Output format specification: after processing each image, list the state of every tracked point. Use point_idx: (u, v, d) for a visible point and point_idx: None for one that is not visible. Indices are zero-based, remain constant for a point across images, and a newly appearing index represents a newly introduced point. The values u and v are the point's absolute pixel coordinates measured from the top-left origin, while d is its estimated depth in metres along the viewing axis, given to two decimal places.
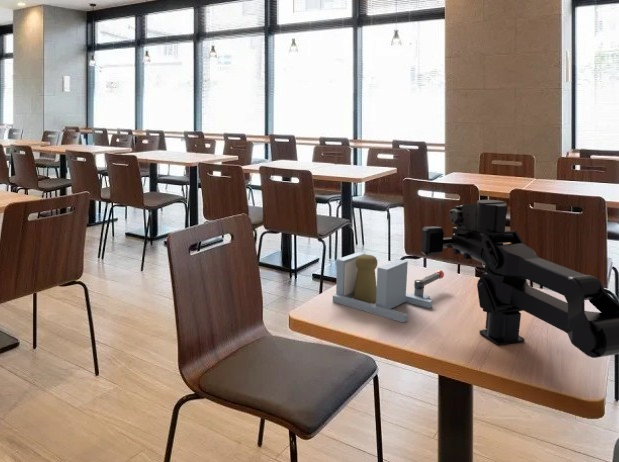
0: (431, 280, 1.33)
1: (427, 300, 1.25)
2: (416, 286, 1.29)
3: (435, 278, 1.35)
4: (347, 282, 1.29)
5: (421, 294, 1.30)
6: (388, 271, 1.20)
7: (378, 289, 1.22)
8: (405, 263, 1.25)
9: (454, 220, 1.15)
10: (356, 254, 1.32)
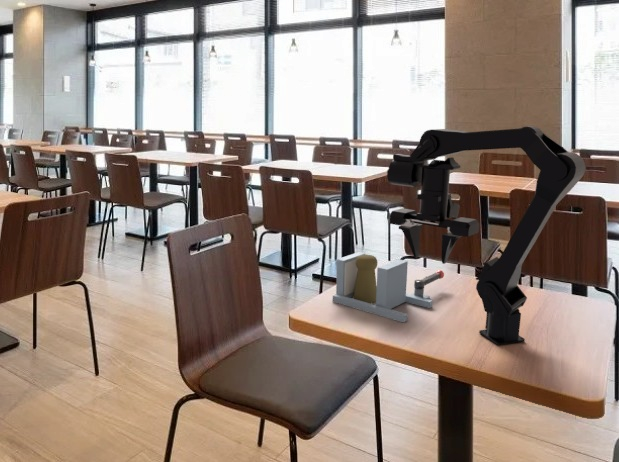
0: (431, 280, 1.33)
1: (427, 300, 1.25)
2: (416, 286, 1.29)
3: (435, 278, 1.35)
4: (347, 282, 1.29)
5: (421, 294, 1.30)
6: (388, 271, 1.20)
7: (378, 289, 1.22)
8: (405, 263, 1.25)
9: None
10: (356, 254, 1.32)
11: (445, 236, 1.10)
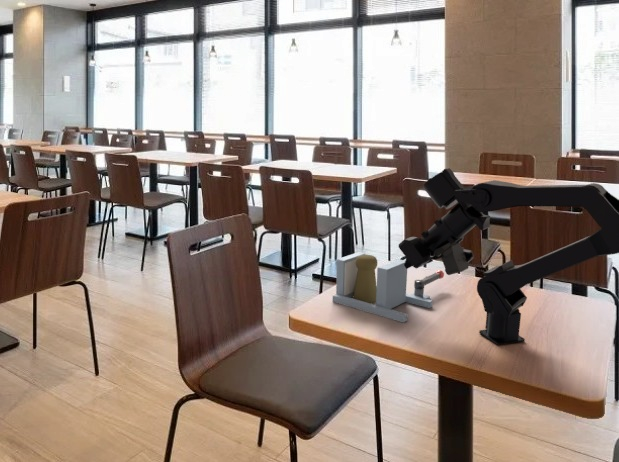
0: (431, 280, 1.33)
1: (427, 300, 1.25)
2: (416, 286, 1.29)
3: (435, 278, 1.35)
4: (347, 282, 1.29)
5: (421, 294, 1.30)
6: (388, 271, 1.20)
7: (378, 289, 1.22)
8: None
9: None
10: (356, 254, 1.32)
11: None
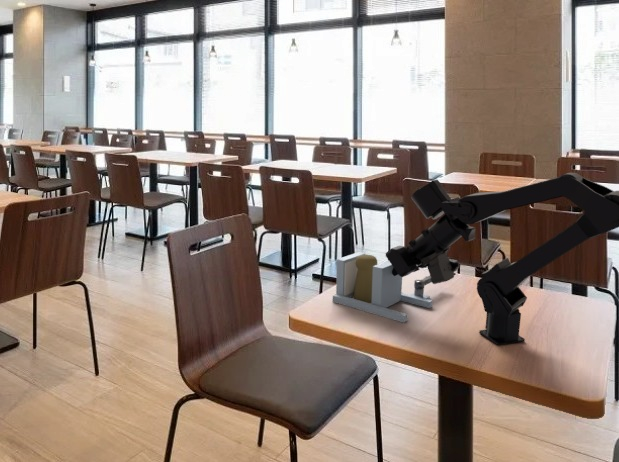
0: None
1: (427, 300, 1.25)
2: (416, 286, 1.29)
3: None
4: (347, 282, 1.29)
5: (421, 294, 1.30)
6: (383, 270, 1.21)
7: (373, 288, 1.22)
8: None
9: None
10: (356, 254, 1.32)
11: None
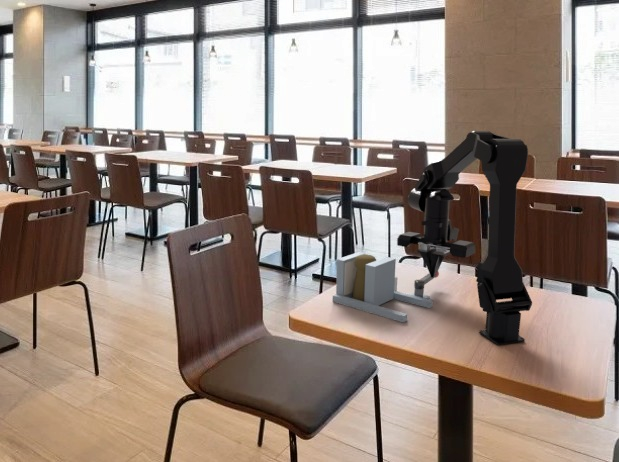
0: (429, 279, 1.34)
1: (427, 300, 1.25)
2: (417, 286, 1.29)
3: None
4: (347, 282, 1.29)
5: (421, 294, 1.30)
6: (376, 268, 1.22)
7: (366, 286, 1.24)
8: (393, 260, 1.27)
9: None
10: (356, 254, 1.32)
11: (434, 255, 1.30)
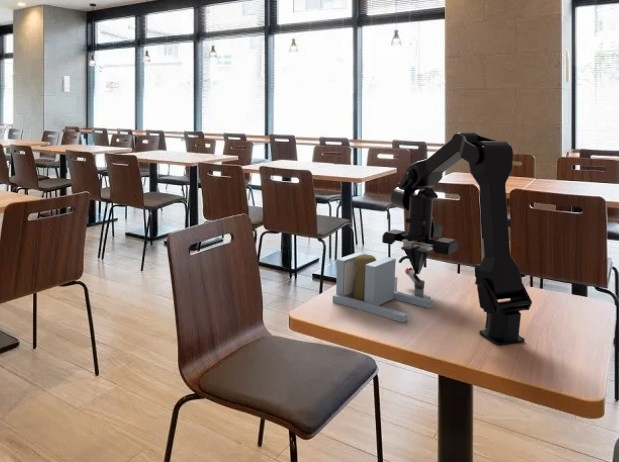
0: None
1: (427, 300, 1.25)
2: (420, 287, 1.29)
3: None
4: (347, 282, 1.29)
5: (421, 294, 1.30)
6: (376, 268, 1.22)
7: (366, 286, 1.24)
8: (393, 260, 1.27)
9: None
10: (356, 254, 1.32)
11: (417, 252, 1.33)
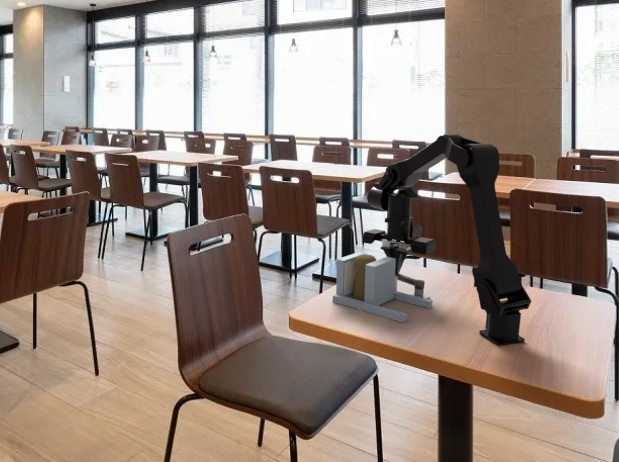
0: None
1: (427, 300, 1.25)
2: (422, 286, 1.29)
3: None
4: (347, 282, 1.29)
5: (421, 294, 1.30)
6: (376, 268, 1.22)
7: (366, 286, 1.24)
8: (393, 260, 1.27)
9: None
10: (356, 254, 1.32)
11: (396, 251, 1.33)
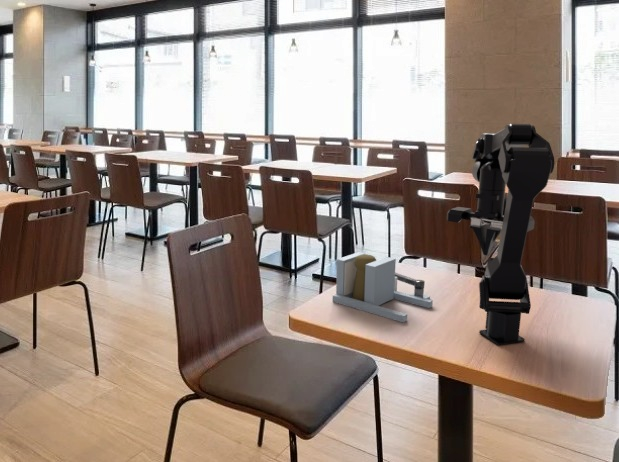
0: None
1: (427, 300, 1.25)
2: (422, 286, 1.29)
3: None
4: (347, 282, 1.29)
5: (421, 294, 1.30)
6: (376, 268, 1.22)
7: (366, 286, 1.24)
8: (393, 260, 1.27)
9: None
10: (356, 254, 1.32)
11: (489, 230, 1.21)
